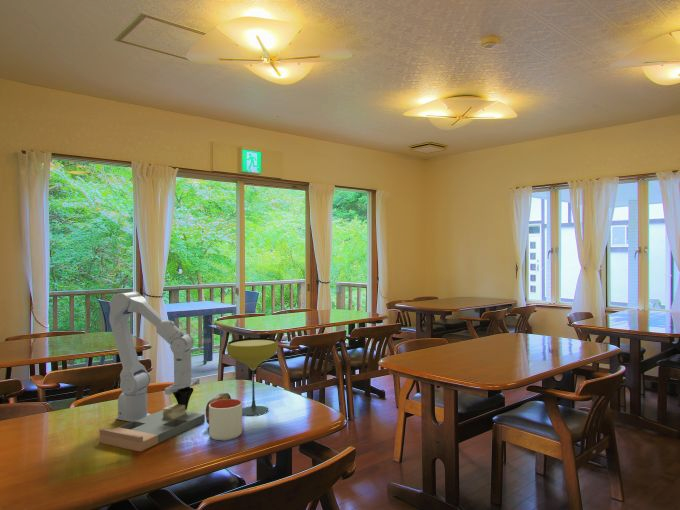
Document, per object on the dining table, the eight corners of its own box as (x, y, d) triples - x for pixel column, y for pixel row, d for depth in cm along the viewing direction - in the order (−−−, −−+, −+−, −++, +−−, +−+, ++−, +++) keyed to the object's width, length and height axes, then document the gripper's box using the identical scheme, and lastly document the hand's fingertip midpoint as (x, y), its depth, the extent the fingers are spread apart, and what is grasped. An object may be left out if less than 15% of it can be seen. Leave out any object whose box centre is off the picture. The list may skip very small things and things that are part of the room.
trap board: (99, 442, 142) (99, 429, 142) (167, 415, 167) (167, 403, 167) (140, 451, 135) (140, 437, 135) (204, 421, 159) (204, 409, 159)
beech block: (163, 417, 157) (163, 408, 157) (175, 412, 162) (175, 403, 162) (173, 419, 155) (173, 409, 155) (185, 413, 160) (185, 405, 160)
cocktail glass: (281, 416, 163) (280, 344, 163) (228, 421, 159) (227, 347, 159) (275, 401, 180) (274, 336, 181) (227, 405, 176) (226, 339, 176)
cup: (248, 431, 149) (247, 400, 149) (231, 443, 140) (230, 410, 140) (221, 428, 152) (220, 397, 153) (202, 439, 143) (202, 407, 143)
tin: (212, 429, 152) (212, 403, 152) (204, 428, 153) (203, 402, 153) (232, 414, 167) (232, 390, 167) (224, 413, 168) (224, 389, 168)
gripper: (175, 376, 154) (176, 418, 154) (206, 366, 167) (206, 405, 167) (159, 374, 157) (160, 415, 157) (190, 365, 170) (191, 402, 170)
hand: (183, 409), depth 162 cm, fingers closed
